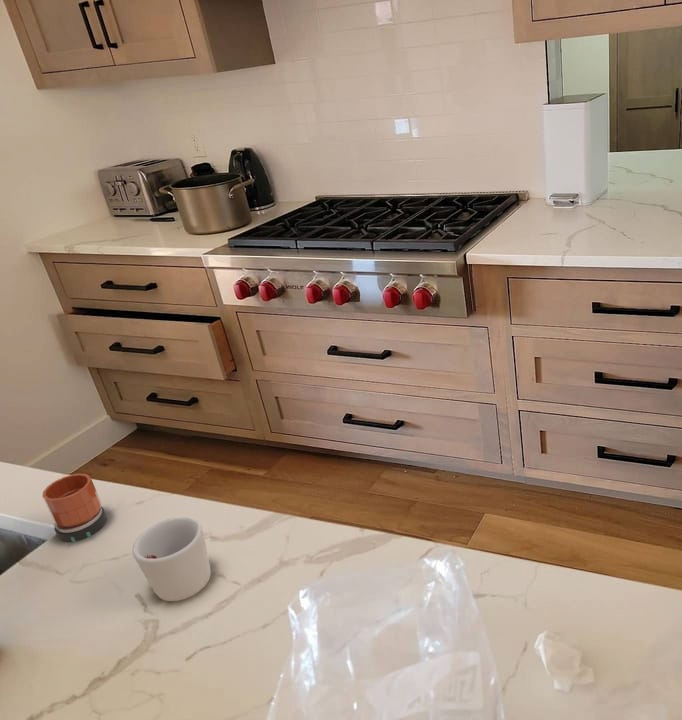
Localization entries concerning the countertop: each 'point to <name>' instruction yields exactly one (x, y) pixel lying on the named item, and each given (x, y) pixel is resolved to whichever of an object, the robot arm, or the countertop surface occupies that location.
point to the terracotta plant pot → (72, 500)
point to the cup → (173, 558)
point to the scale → (82, 528)
